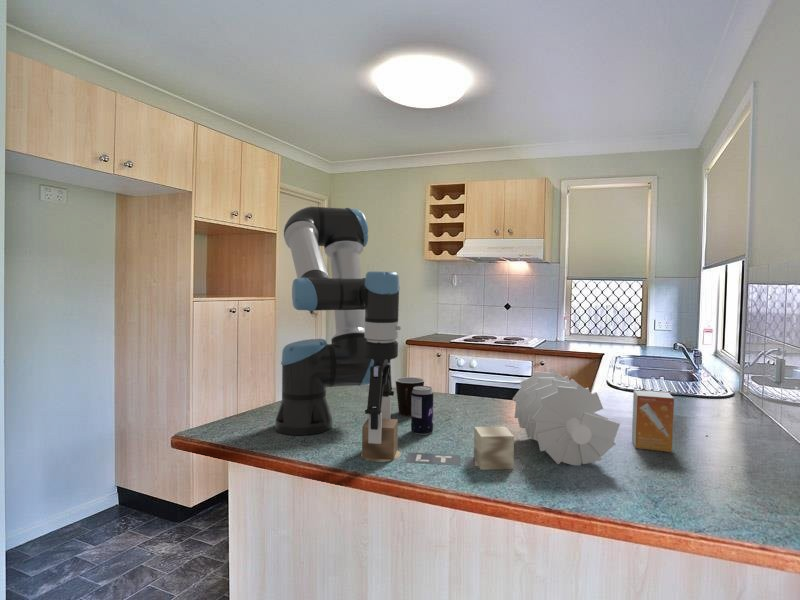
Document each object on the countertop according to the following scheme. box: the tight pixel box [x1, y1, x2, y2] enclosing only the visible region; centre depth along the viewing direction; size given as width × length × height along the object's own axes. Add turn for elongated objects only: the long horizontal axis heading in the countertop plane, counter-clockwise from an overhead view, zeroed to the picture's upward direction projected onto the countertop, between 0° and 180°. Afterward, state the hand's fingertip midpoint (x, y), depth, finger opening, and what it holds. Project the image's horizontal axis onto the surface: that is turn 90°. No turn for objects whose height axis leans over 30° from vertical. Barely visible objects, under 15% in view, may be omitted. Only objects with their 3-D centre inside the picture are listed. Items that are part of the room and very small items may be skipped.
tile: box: [404, 451, 462, 467], centre depth 112 cm, size 12×6×1 cm, turn 83°
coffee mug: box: [395, 376, 425, 417], centre depth 149 cm, size 12×9×10 cm
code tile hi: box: [464, 456, 524, 472], centre depth 109 cm, size 12×6×1 cm, turn 83°
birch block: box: [473, 426, 515, 471], centre depth 109 cm, size 7×7×7 cm
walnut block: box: [361, 417, 399, 461], centre depth 114 cm, size 7×7×7 cm
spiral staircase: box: [512, 369, 621, 466], centre depth 118 cm, size 18×18×25 cm
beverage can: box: [410, 385, 434, 436], centre depth 131 cm, size 6×6×12 cm
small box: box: [631, 389, 675, 453], centre depth 122 cm, size 8×6×13 cm
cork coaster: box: [360, 449, 402, 463], centre depth 114 cm, size 9×9×1 cm
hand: (379, 432), depth 115 cm, fingers open, 13 cm apart
